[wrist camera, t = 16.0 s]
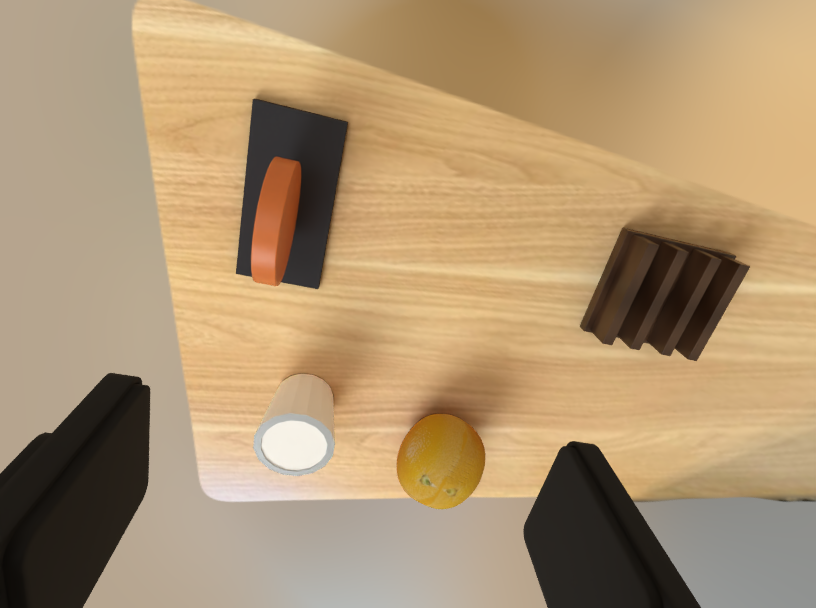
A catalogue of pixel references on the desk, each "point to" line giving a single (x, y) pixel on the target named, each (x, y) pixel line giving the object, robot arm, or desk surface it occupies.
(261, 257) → the disc
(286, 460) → the shot glass
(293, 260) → the mat
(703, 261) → the rack
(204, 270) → the desk surface
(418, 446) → the fruit
